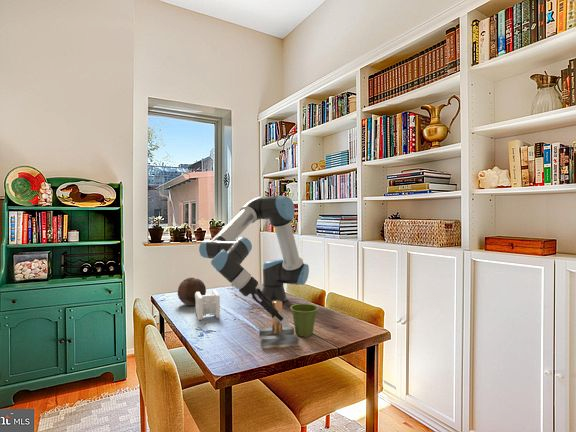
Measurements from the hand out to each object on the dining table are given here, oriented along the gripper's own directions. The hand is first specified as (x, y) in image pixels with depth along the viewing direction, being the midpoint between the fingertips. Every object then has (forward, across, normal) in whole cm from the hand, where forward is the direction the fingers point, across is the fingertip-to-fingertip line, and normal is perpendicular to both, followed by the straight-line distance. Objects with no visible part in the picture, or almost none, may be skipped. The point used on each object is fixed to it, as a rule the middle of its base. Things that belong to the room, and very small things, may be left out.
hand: (286, 322), depth 138 cm
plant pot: (+11, -7, +1) cm, 13 cm away
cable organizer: (-19, -38, -29) cm, 51 cm away
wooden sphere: (-26, -60, -36) cm, 75 cm away
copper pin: (0, 0, -5) cm, 5 cm away
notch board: (+3, 0, -8) cm, 8 cm away
